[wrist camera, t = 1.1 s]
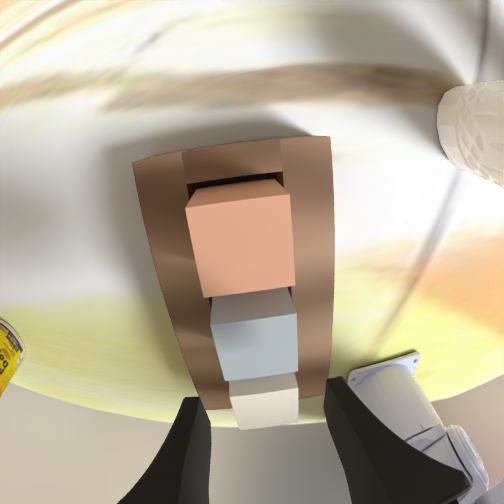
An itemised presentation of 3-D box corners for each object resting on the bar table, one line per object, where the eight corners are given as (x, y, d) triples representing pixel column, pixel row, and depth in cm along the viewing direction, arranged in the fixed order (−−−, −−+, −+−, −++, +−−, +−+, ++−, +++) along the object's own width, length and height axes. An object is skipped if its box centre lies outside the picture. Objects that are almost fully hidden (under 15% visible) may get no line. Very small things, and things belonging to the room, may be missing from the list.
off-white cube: (288, 381, 20) (298, 422, 17) (237, 388, 20) (239, 430, 17) (287, 344, 19) (298, 387, 15) (228, 352, 19) (229, 396, 15)
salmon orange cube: (280, 249, 16) (295, 285, 12) (209, 259, 16) (203, 297, 12) (274, 178, 14) (289, 194, 11) (196, 188, 14) (185, 208, 11)
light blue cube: (286, 327, 18) (298, 371, 15) (224, 335, 18) (224, 381, 14) (282, 273, 17) (296, 313, 13) (213, 282, 17) (210, 324, 13)
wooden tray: (318, 368, 24) (326, 393, 21) (205, 384, 23) (204, 410, 21) (313, 135, 16) (330, 136, 13) (148, 157, 16) (132, 162, 13)
